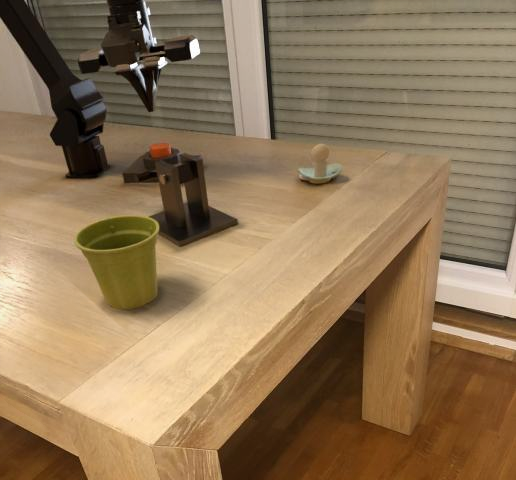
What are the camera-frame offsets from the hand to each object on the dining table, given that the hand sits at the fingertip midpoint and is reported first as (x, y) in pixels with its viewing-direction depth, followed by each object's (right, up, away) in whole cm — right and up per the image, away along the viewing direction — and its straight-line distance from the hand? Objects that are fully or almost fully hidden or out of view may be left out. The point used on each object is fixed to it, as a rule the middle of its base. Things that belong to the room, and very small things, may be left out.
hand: (151, 111), depth 95 cm
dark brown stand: (+8, -22, -11) cm, 26 cm away
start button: (+1, -6, +5) cm, 8 cm away
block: (+1, -9, +7) cm, 11 cm away
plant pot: (+3, -34, -27) cm, 43 cm away
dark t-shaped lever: (+5, -15, -12) cm, 20 cm away
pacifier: (+28, -11, 0) cm, 30 cm away
